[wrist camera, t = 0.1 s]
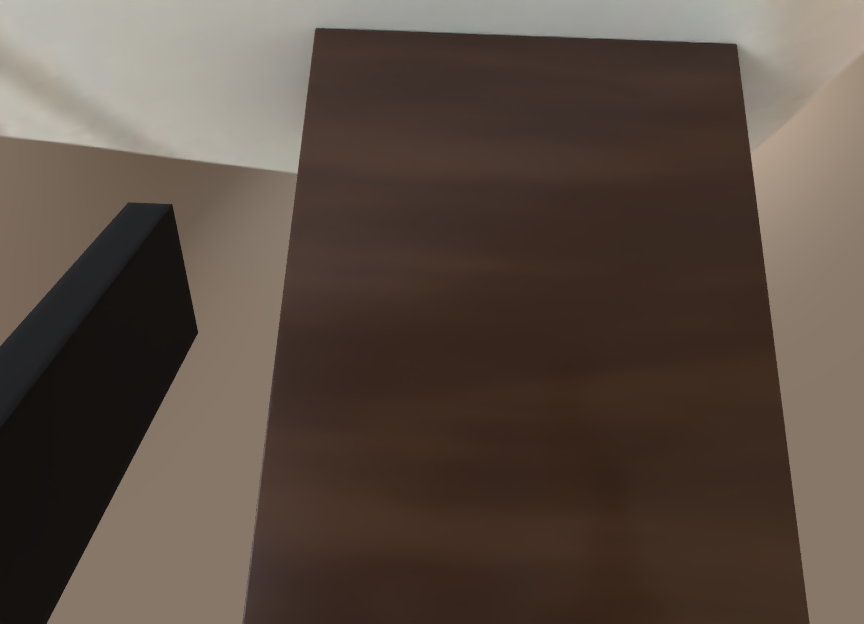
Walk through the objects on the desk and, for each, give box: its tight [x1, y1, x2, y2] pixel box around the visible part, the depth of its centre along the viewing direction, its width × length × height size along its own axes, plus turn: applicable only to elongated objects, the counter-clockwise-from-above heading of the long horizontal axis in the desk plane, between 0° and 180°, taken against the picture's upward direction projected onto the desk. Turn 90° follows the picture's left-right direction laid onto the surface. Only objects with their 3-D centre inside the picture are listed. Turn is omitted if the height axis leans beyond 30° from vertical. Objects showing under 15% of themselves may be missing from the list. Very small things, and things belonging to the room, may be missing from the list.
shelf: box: [243, 29, 809, 624], centre depth 26 cm, size 8×18×33 cm, turn 90°
